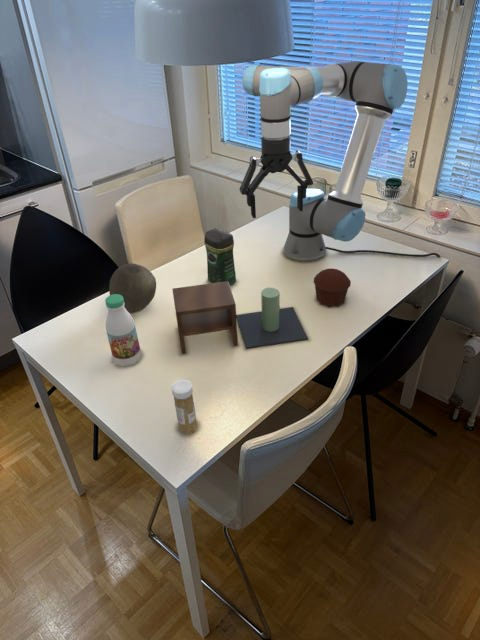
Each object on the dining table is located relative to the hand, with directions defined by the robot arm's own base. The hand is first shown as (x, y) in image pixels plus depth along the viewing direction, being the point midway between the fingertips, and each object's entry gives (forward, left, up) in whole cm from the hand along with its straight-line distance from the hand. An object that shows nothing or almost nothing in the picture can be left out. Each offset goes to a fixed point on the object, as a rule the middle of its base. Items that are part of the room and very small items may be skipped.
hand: (276, 212), depth 139 cm
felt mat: (+5, +13, -30) cm, 33 cm away
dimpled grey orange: (+44, -7, -30) cm, 54 cm away
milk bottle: (+47, +17, -30) cm, 59 cm away
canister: (+5, +13, -30) cm, 33 cm away
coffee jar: (+15, -16, -30) cm, 37 cm away
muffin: (-17, +3, -30) cm, 35 cm away
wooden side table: (+24, +13, -30) cm, 41 cm away
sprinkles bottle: (+33, +46, -30) cm, 65 cm away
